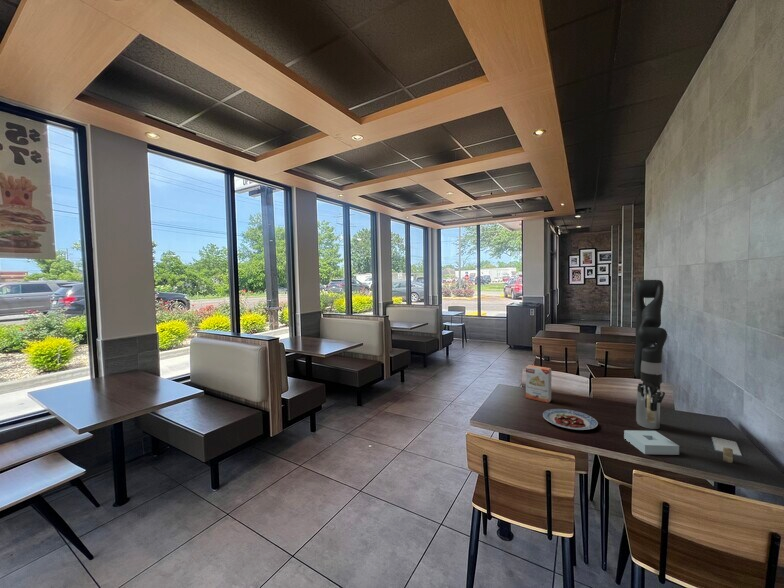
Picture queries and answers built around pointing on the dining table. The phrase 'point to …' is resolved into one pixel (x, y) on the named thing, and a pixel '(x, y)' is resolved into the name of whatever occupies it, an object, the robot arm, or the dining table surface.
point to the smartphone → (726, 445)
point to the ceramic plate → (570, 419)
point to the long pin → (650, 413)
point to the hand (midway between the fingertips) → (650, 409)
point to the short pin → (728, 455)
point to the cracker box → (538, 383)
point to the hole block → (651, 442)
